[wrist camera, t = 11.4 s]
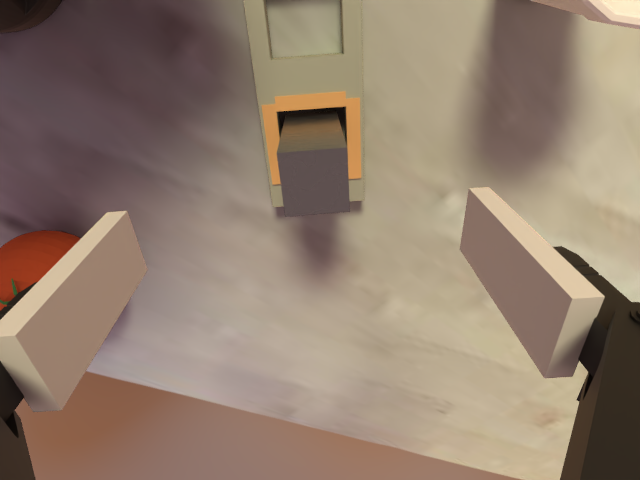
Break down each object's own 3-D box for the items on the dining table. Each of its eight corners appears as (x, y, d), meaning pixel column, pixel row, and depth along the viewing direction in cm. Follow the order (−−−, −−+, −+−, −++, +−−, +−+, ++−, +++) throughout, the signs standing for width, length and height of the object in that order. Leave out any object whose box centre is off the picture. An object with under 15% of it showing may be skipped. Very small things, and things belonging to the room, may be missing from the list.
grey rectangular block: (291, 162, 38) (285, 216, 27) (286, 114, 35) (276, 153, 25) (338, 158, 38) (349, 211, 27) (335, 109, 35) (347, 147, 25)
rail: (274, 198, 40) (272, 207, 38) (208, -280, 24) (199, -306, 22) (362, 192, 39) (364, 201, 38) (354, -293, 24) (358, -320, 22)
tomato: (47, 294, 45) (-16, 360, 36) (9, 215, 40) (-75, 270, 31) (135, 290, 45) (93, 355, 36) (108, 211, 40) (52, 264, 31)
